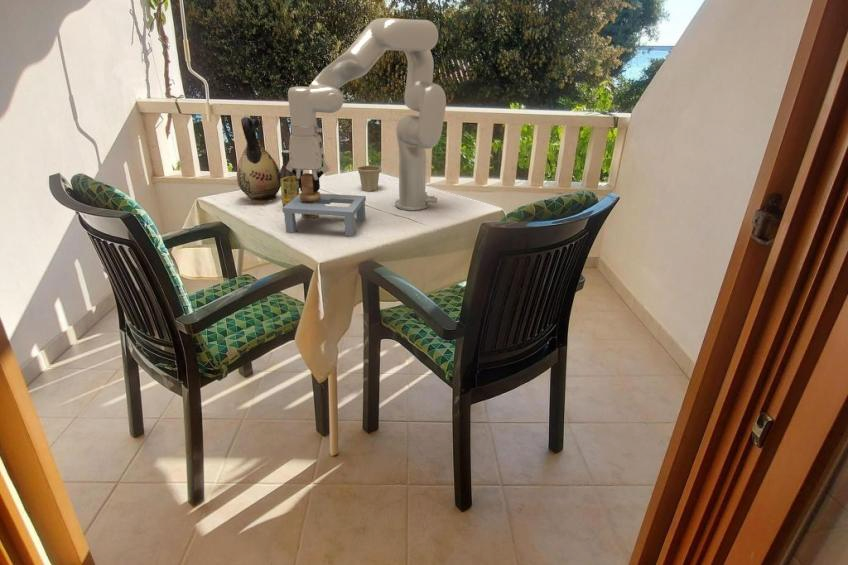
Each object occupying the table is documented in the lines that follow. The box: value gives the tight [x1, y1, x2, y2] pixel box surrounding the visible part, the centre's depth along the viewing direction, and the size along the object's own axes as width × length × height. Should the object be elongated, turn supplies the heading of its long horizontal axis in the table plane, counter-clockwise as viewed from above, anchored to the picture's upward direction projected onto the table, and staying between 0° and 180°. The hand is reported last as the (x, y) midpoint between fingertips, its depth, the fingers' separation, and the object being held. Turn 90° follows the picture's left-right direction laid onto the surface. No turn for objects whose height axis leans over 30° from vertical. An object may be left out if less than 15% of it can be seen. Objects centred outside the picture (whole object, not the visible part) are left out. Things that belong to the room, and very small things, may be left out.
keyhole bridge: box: [281, 193, 367, 238], centre depth 158 cm, size 17×22×8 cm
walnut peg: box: [299, 172, 321, 220], centre depth 156 cm, size 6×6×14 cm
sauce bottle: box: [279, 149, 301, 208], centre depth 172 cm, size 6×6×20 cm
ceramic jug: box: [236, 116, 281, 204], centre depth 176 cm, size 17×15×30 cm
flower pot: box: [356, 165, 382, 192], centre depth 197 cm, size 9×9×9 cm
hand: (309, 190), depth 155 cm, fingers closed on walnut peg, 3 cm apart
